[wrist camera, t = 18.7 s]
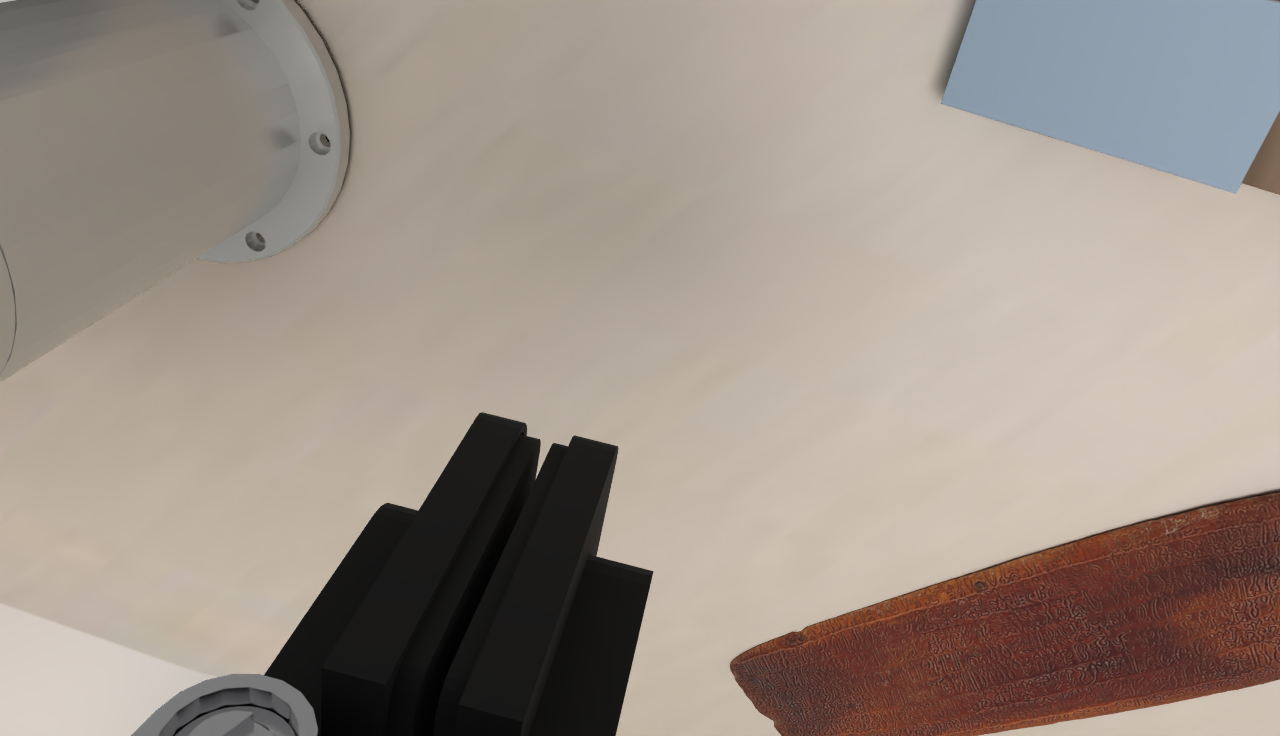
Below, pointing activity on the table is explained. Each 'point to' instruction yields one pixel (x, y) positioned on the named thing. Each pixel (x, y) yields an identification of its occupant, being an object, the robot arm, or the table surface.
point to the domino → (1129, 78)
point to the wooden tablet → (1043, 635)
